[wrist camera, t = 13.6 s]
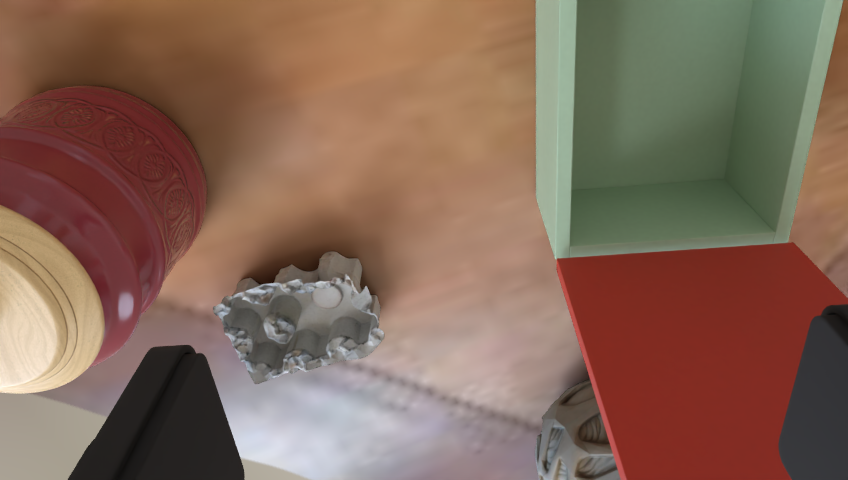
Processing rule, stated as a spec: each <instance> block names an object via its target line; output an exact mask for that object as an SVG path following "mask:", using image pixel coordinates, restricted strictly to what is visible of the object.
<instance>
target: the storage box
mask: <svg viewBox="0 0 848 480" xmlns="http://www.w3.org/2000/svg"><path fill="white" fill-rule="evenodd" d="M842 4H843V0H536V199H537V202H538V206H539V209H540V212H541V215H542V219H543V222H544V225H545V228H546V231H547V234H548V238H549V241H550V244H551V247H552V250H553V253H554V257H555V259H557V258H570V257H585V256H600V255H614V254H629V253H644V252H659V251H674V250H688V249H703V248H718V247H733V246H748V245H762V244H777V243H788V240H789V235H790V231H791V226H792V222H793V218H794V213H795V209H796V205H797V200H798V196H799V192H800V187H801V183H802V178H803V174H804V170H805V165H806V161H807V157H808V152H809V148H810V143H811V139H812V135H813V130H814V126H815V122H816V117H817V113H818V109H819V104H820V100H821V95H822V91H823V87H824V82H825V78H826V74H827V69H828V65H829V61H830V56H831V52H832V47H833V43H834V39H835V34H836V30H837V26H838V21H839V17H840V13H841V8H842Z"/></svg>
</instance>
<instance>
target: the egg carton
mask: <svg viewBox="0 0 848 480" xmlns="http://www.w3.org/2000/svg"><path fill="white" fill-rule="evenodd" d="M319 261H320V263H319V267H318V269H316V270H314V271H311V272H306V271H302V270H300V269H298V268H296V267H295V266H293V265H292V264H291V265H290V266H288V267H286V268H283V269H280V271H279V274H278V275H277V276H276V278H275V281H274V283H269V284H263V285H261V284H258V283H256V282H255V281H254V280H253V279H252V278H247V279H243V280H241V281H240V282H239V283H238V285H237V290H236V292H235V293H234V294H233V295H232V297H229V296H226V297H224V298H223V300H222V302H221V304H219V305H217V306H216V307H215V306H214V307H213V312H214V314H215V315H219V317H220V319H221V320H222V323H223V326H224V332H225V335H227V336H229V338H230V339H231V342H232V345H233V348H234V349H235V350H236V351H237V354H238V356H239V358H240V361H243V362H245V364H246V366H247V370H248V372H249V374H250V376H251V378H252V380H253V381H254V383H255V384H259V383H262V382H264V381H267V380H270V379H273V378H276V377H279V376H281V375H282V374H284V373H287V372H290V373H295V372H296V371H297V370H303V371H305V372H307V371H310V370H312V369H314V368H317V367H320V366H325V365H330V364H333V363H335V362H338V361H344V360H354V359H361V358H363V357H366V356H368V355H369V354H370V353H372V352H373V351H374V349H375V348H376V347H377V346H378V345H379V344H380V343H381V341H382V340H383V339H384V333H383V331H382V330H381V329H379V328H378V326H379V317H380V309H381V307H380V304H379V301H378V297H377V296H376V295H370V293H369V290H368V288H367V286H365V287H364V288H363V289H361V287H360V279H361V275H362V266H361V264H360V261H359V260H358V259H357V258H350V259H348V258H346V257H343V256H342V255H340V254H339V253H338V252H327V253H325V254H323V255H322V258H321V259H319Z"/></svg>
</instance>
